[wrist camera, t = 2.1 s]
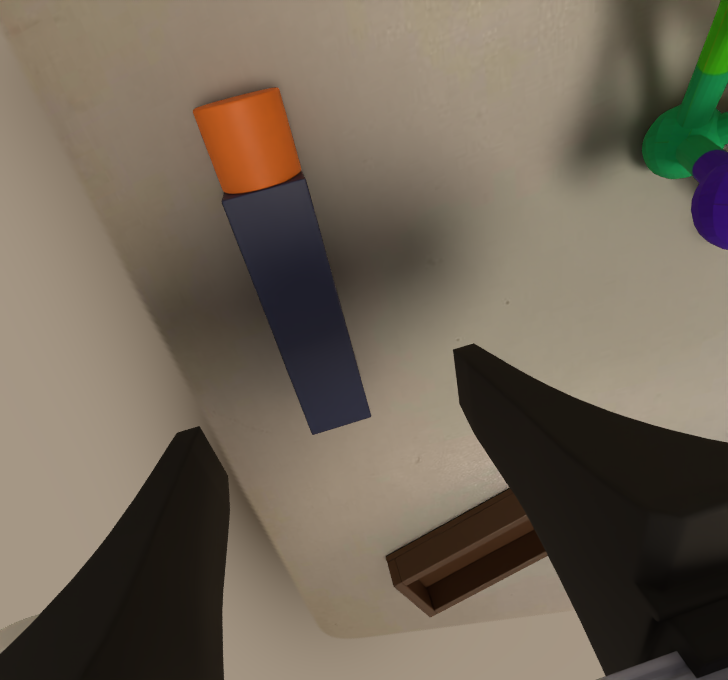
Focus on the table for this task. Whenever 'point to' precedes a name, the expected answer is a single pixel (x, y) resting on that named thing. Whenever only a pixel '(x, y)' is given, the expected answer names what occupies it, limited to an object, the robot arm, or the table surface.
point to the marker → (284, 252)
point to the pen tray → (466, 555)
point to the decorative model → (699, 136)
